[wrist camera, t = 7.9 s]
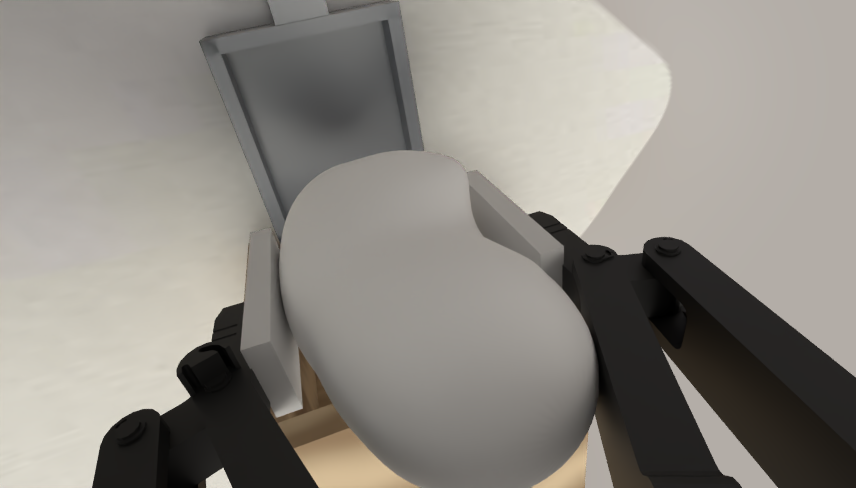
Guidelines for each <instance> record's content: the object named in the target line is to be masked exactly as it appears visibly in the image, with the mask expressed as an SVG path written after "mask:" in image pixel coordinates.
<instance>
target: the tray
mask: <svg viewBox="0 0 856 488" xmlns="http://www.w3.org/2000/svg"><path fill="white" fill-rule="evenodd" d="M267 1H268V4H269V7H270V10H271V13H272V17H273V20H274V23H273V24H268V25H263V26H258V27H253V28H248V29H243V30H238V31H233V32H228V33H223V34H218V35H213V36H208V37H205V38H203V39H202V40H201V41H199V42H200V45H201V47H202V50H203V52H204V55H205V57H206V60H207V62H208V65H209V67H210V70H211V72H212V75H213V77H214V80H215V82H216V85H217V87H218V90H219V92H220V95H221V97H222V100H223V102H224V105H225V107H226V110H227V112H228V115H229V117H230V120H231V122H232V125H233V127H234V129H235V132H236V134H237V137H238V139H239V142H240V144H241V147H242V149H243V152H244V154H245V157H246V159H247V162H248V164H249V167H250V169H251V172H252V174H253V177H254V179H255V182H256V184H257V187H258V189H259V192H260V194H261V197H262V199H263V202H264V204H265V207H266V209H267V212H268V214H269V217H270V219H271V222H272V224H273V227H274V229H275V231H276V234H277V236H278V239H279V241H280V244H281V238H282V233H283V228H284V224H285V221H286V218H287V215H288V213H289V211H290V208H291V206H292V204H293V203H294V201H295V199H296V198H297V196H298V195H299V193H300V192H301V191H302V190H303V189H304V187H305V186H306V185H307V184H308V183H309V182H310V181H312V180H313V179H314V178H315V177H316V176H318V175H319V174H321V173H322V172H324V171H326V170H328V169H330V168H332V167H334V166H337V165H340V164H343V163H346V162H350V161H354V160H357V159H360V158H364V157H367V156H370V155H375V154H378V153H383V152H390V151H398V150H413V151H424V147H423V142H422V136H421V130H420V124H419V118H418V112H417V106H416V100H415V94H414V88H413V83H412V77H411V71H410V65H409V59H408V53H407V47H406V41H405V35H404V29H403V23H402V18H401V12H400V6H399V1H390V0H388V1H383V2H378V3H373V4H368V5H363V6H358V7H353V8H348V9H343V10H338V11H333V12H328V8H327V4H326V0H267Z"/></svg>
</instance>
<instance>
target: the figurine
mask: <svg viewBox="0 0 856 488" xmlns="http://www.w3.org/2000/svg"><path fill="white" fill-rule="evenodd" d="M279 278H280V289H281V296H282V301H283V306H284V310H285V314H286V318H287V321H288V324H289V326H290V329H291V332H292V334H293V336H294V339H295V341H296V343H297V345H298V347H299V349H300V350H301V352H302V354H303V355H304V357H305V358H306V360H307V361H308V363H309V364H310V366H311V367H312V369H313V370H314V371H315V373H316V374H317V376H318V378H319V380H320V382H321V384H322V386H323V387H324V389H325V391H326V393H327V395H328V397H329V399H330V400H331V402H332V404H333V406H334V407H335V409H336V410H337V412H338V413H339V415H340V416H341V417H342V419H343V420H344V421H345V423H346V424H347V425H348V427H349V428H350V429H351V430H352V431H353V432H354V434H355V435H356V436H357V437H358V438H359V439H360V440H361V441H362V442H363V444H364V445H365V446H366V447H367V448H368V449H369V450H370V451H371V452H372V453H373V454H374V455H375V456H376V457H377V458H378V459H379V460H380V461H381V462H382V463H383V464H384V465H385V466H386V467H388V468H389V469H390V470H391V471H393V472H394V473H395V474H397V475H398V476H400V477H401V478H403V479H405V480H406V481H408V482H410V483H412V484H414V485H416V486H418V487H421V488H531V487H533V486H534V485H536V484H538V483H540V482H542V481H543V480H545V479H546V478H548V477H549V476H550V475H552V474H553V473H555V472H556V471H557V470H558V469H559V468H561V467H562V466H563V465H564V464H565V463H566V462H567V461H568V460H569V459H570V457H571V456H572V455H573V454H574V452H575V451H576V450H577V449H578V448H579V446H580V444H581V443H582V441H583V440H584V438H585V436H586V434H587V432H588V430H589V427H590V425H591V423H592V420H593V417H594V414H595V411H596V407H597V402H598V395H599V364H598V358H597V353H596V349H595V345H594V342H593V339H592V336H591V333H590V331H589V328H588V326H587V324H586V322H585V321H584V319H583V317H582V315H581V313H580V312H579V310H578V309H577V307H576V306H575V304H574V303H573V302H572V300H571V299H570V298H569V296H568V295H567V294H566V293H565V292H564V290H563V289H562V288H561V287H560V286H559V285H558V284H557V283H556V282H555V281H554V280H553V279H552V278H551V277H549V276H548V275H547V274H546V273H545V272H544V271H543V270H542V269H541V268H540V267H539V266H538V265H537V264H536V263H534V262H533V261H532V260H530V259H528V258H527V257H525V256H523V255H521V254H519V253H517V252H515V251H513V250H510V249H508V248H506V247H504V246H502V245H500V244H498V243H496V242H493V241H491V240H489V239H487V238H485V237H483V235H482V234H481V232H480V231H479V229H478V227H477V225H476V223H475V220H474V217H473V214H472V209H471V202H470V192H469V180H468V176H467V172H466V170H465V169H464V167H463V165H462V164H461V163H460V162H458V161H457V160H455V159H454V158H451V157H448V156H445V155H442V154H438V153H432V152H426V151H413V150H398V151H390V152H383V153H378V154H375V155H370V156H367V157H364V158H360V159H357V160H354V161H350V162H346V163H343V164H340V165H337V166H334V167H332V168H330V169H328V170H326V171H324V172H322V173H321V174H319V175H318V176H316V177H315V178H314V179H313V180H312V181H310V182H309V183H308V184H307V185H306V186H305V187H304V189H303V190H302V191H301V192H300V193H299V195H298V196H297V198H296V199H295V201H294V203H293V204H292V206H291V208H290V211H289V213H288V215H287V218H286V221H285V224H284V228H283V233H282V238H281V245H280V257H279Z"/></svg>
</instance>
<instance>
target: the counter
mask: <svg viewBox="0 0 856 488" xmlns="http://www.w3.org/2000/svg"><path fill="white" fill-rule="evenodd" d="M248 254H249V246H248ZM247 266H248V258H247ZM246 278H247V270H246ZM245 289H246V282H245ZM244 301H245V295H244ZM298 350H299V364H300V377H301V390H302V403H303V409H300V410H297V411H294V412H291V413H289V414H286V415H283V416H280V417H276V416H275V414H274V412H273V410H272V408H271V406H270V413H271V414H272V416H273V417H274V419H275V420H276V422H277V423H278V425H279V426H280V428H281V430H282V431H283V433H284V434H285V436H286V437H287V439H288V440H289V442H290V444H291V445H292V447H293V448H294V450H295V451H296V453H297V454H298V456H299V458H300V459H301V461H302V462H303V464H304V465H305V467H306V468H307V470H308V471H309V473H310V475H311V476H312V478H313V479H314V481H315V482H316V484H317V485H318V487H319V488H421V487H418V486H416V485H414V484H412V483H410V482H408V481H406V480H405V479H403V478H401V477H400V476H398V475H397V474H395V473H394V472H393V471H391V470H390V469H389V468H388V467H386V466H385V465H384V464H383V463H382V462H381V461H380V460H379V459H378V458H377V457H376V456H375V455H374V454H373V453H372V452H371V451H370V450H369V449H368V448H367V447H366V446H365V445H364V444H363V442H362V441H361V440H360V439H359V438H358V437H357V436H356V435H355V434H354V432H353V431H352V430H351V429H350V428H349V427H348V425H347V424H346V423H345V421H344V420H343V419H342V417H341V416H340V415H339V413H338V412H337V410H336V409H335V407H334V406H333V404H332V402H331V400H330V399H329V397H328V395H327V393H326V391H325V389H324V387H323V386H322V384H321V382H320V380H319V378H318V376H317V374H316V373H315V371H314V370H313V369H312V367H311V366H310V364H309V363H308V361H307V360H306V358H305V357H304V355H303V354H302V352H301V350H300V349H299V347H298ZM587 442H588V432H587V434H586V436H585V438H584V440H583V441H582V443H581V444H580V446H579V448H578V449H577V450H576V451H575V452H574V454H573V455H572V456H571V457H570V459H569V460H568V461H567V462H566V463H565V464H564V465H563V466H562V467H561V468H559V469H558V470H557V471H556V472H555V473H553V474H552V475H550V476H549V477H548V478H546V479H545V480H543V481H542V482H540V483H538V484H536V485H534V486H533V487H531V488H585V472H586V458H587Z"/></svg>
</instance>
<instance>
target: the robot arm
mask: <svg viewBox="0 0 856 488" xmlns="http://www.w3.org/2000/svg"><path fill="white" fill-rule="evenodd" d="M467 176H468V180H469V192H470V202H471V209H472V214H473V217H474V220H475V223H476V225H477V227H478V229H479V231H480V232H481V234H482V235H483V237H485V238H487V239H489V240H491V241H493V242H496V243H498V244H500V245H502V246H504V247H506V248H508V249H510V250H513V251H515V252H517V253H519V254H521V255H523V256H525V257H527V258H528V259H530V260H532V261H533V262H534V263H536V264H537V265H538V266H539V267H540V268H541V269H542V270H543V271H544V272H545V273H546V274H547V275H548V276H549V277H551V278H552V279H553V280H554V281H555V282H556V283H557V284H558V285H559V286H560V287H561V288H562V289H563V290H564V292H565V293H566V294H567V295H568V296H569V298H570V299H571V300H572V302H573V303H574V304H575V306H576V307H577V309H578V310H579V312H580V313H581V315H582V317H583V319H584V321H585V322H586V324H587V326H588V328H589V331H590V333H591V336H592V339H593V342H594V345H595V349H596V353H597V358H598V364H599V395H598V402H597V407H596V411H595V416H596V420H597V424H598V428H599V432H600V436H601V440H602V444H603V448H604V451H605V455H606V459H607V463H608V467H609V471H610V475H611V479H612V482H613V486H614V488H742V487H741V486H740V484H739V483H738V482H737V481H736V480H735V479H734V478H733V477H729V476H725V475H723V474H722V473H721V472H720V471H719V469H718V467H717V465H716V464H715V462H714V459H713V457H712V455H711V453H710V451H709V449H708V446H707V444H706V442H705V440H704V438H703V436H702V434H701V432H700V429H699V427H698V425H697V423H696V421H695V419H694V417H693V414H692V412H691V410H690V408H689V406H688V404H687V402H686V400H685V397H684V395H683V393H682V391H681V389H680V387H679V385H678V383H677V380H676V378H675V376H674V374H673V372H672V370H671V368H670V365H669V363H668V361H667V359H666V357H665V355H664V353H663V351H662V349H663V350H664V351H665V352H666V353H667V355H668V356H669V357H670V358H671V360H672V361H673V362H674V363H675V364H676V365H677V367H678V368H679V369H680V370H681V372H682V373H683V374H684V375H685V376H686V378H687V379H688V380H689V381H690V382H691V384H692V385H693V386H694V387H695V388H696V390H697V391H698V392H699V393H700V394H701V396H702V397H703V398H704V399H705V400H706V402H707V403H708V404H709V405H710V406H711V408H712V409H713V410H714V411H715V412H716V414H717V415H718V416H719V417H720V418H721V420H722V421H723V422H724V423H725V424H726V426H727V427H728V428H729V429H730V430H731V432H733V434H734V435H735V436H736V438H737V439H738V440H739V441H740V442H741V444H742V445H743V446H744V447H745V449H746V450H747V451H748V452H749V453H750V455H751V456H752V457H753V458H754V459H755V461H756V462H757V463H758V464H759V465H760V467H761V468H762V469H763V470H764V471H765V472H766V474H767V475H768V476H769V477H770V479H771V480H772V481H773V482H774V483H775V485H776V486H777V487H778V488H856V377H854V376H853V375H852V374H850V373H849V372H848V371H847V370H846V369H844V368H843V367H842V366H840V365H839V364H838V363H837V362H835V361H834V360H833V359H832V358H831V357H829V356H828V355H827V354H826V353H824V352H823V351H822V350H820V349H819V348H818V347H817V346H815V345H814V344H813V343H812V342H810V341H809V340H808V339H807V338H805V337H804V336H803V335H802V334H800V333H799V332H798V331H797V330H795V329H794V328H793V327H792V326H790V325H789V324H788V323H787V322H785V321H784V320H783V319H782V318H780V317H779V316H778V315H777V314H775V313H774V312H773V311H772V310H770V309H769V308H768V307H767V306H765V305H764V304H763V303H762V302H760V301H759V300H758V299H757V298H755V297H754V296H753V295H751V294H750V293H749V292H748V291H746V290H745V289H744V288H743V287H742V286H740V285H739V284H738V283H736V282H735V281H734V280H733V279H731V278H730V277H729V276H728V275H726V274H725V273H724V272H723V271H721V270H720V269H719V268H718V267H716V266H715V265H714V264H713V263H711V262H710V261H709V260H708V259H706V258H705V257H704V256H703V255H701V254H700V253H699V252H698V251H696V250H695V249H694V248H693V247H691V246H690V245H689V244H687V243H685V242H683V241H682V240H679V239H675V238H670V237H659V238H653V239H651V240H648V241H647V242H646V243H645V244H644V249H643V253H640V254H629V255H617V254H616V252H615V251H614V250H612V249H610V248H608V247H605V246H601V245H588V244H587V243H586V242H584V241H583V240H582V239H581V238H579V237H578V236H577V235H576V234H574V233H573V232H572V231H571V230H569V229H567V227H566V226H564V225H563V224H561V223H560V222H559V221H558V220H557V219H556V218H554V217H553V216H552V215H549V214H546V213H543V212H540V211H539V212H535V213H532V214H529V215H528V214H526V213H525V212H524V211H523V210H522V209H521V208H520V207H518V206H517V205H516V204H515V203H514V202H513V201H511V200H510V199H509V198H508V197H507V196H506V195H505V194H503V193H502V192H501V191H500V190H499V189H498V188H497V187H495V186H494V185H493V184H492V183H491V182H490V181H489V180H487V179H486V178H485V177H484V176H483V175H482V174H481V173H479V172H478V171H477V170H474V171H471V172H467ZM279 257H280V249H279V247H278V244H277V242H276V239H275V237H274V235H273V232H272V230H271V227H270V228H266V229H263V230H259V231H255V232H252V233H250V243H249V254H248V266H247V278H246V289H245V301H244V302H243V303H239V304H236V305H233V306H229V307H226V308H223V309H222V311H221V312H220V314H219V315H218V317H217V318H216V320H215V323H214V329H213V335H212V342H209V343H206V344H203V345H201V346H199V347H197V348H195V349H194V350H192V351H191V352H189V353H188V354H187V355H186V356H185V357H184V358H183V359H182V360H181V361H180V363H179V365H178V367H177V377H178V378H179V380H180V381H181V383H182V384H183V385H184V387H185V388H186V390H187V391H188V393H189V394H190V396H191V397H190V398H189V399H188V400H186V401H185V402H183V403H182V404H180V405H179V406H177V407H175V408H173V409H172V410H170V411H168V412H166V413H165V414H163V415H161V416H160V414H159V413H158V412H156V411H155V410H153V409H142V410H139V411H136V412H133V413H131V414H129V415H127V416H126V417H124V418H122V419H121V420H120V421H118V422H117V423H116V424H115V425H114V426H112V427H111V429H110V430H109V431H108V432H107V434H106V435H105V436H104V438H103V441H102V443H101V445H100V450H99V455H98V460H97V466H96V471H95V476H94V481H93V486H92V488H206V478H208V477H209V476H211V475H212V474H214V473H215V472H217V471H218V470H220V469H221V468H224V470H225V472H226V474H227V477H228V479H229V481H230V483H231V485H232V488H319V487H318V485H317V484H316V482H315V481H314V479H313V478H312V476H311V475H310V473H309V471H308V470H307V468H306V467H305V465H304V464H303V462H302V461H301V459H300V458H299V456H298V454H297V453H296V451H295V450H294V448H293V447H292V445H291V444H290V442H289V440H288V439H287V437H286V436H285V434H284V433H283V431H282V430H281V428H280V426H279V425H278V423H277V422H276V420H275V419H274V417H273V416H272V414H271V413H270V406H271V408H272V410H273V412H274V414H275V416H276V417H280V416H283V415H286V414H289V413H291V412H294V411H297V410H300V409H303V403H302V390H301V377H300V364H299V350H298V345H297V343H296V341H295V339H294V336H293V334H292V332H291V329H290V326H289V324H288V321H287V318H286V314H285V310H284V306H283V301H282V296H281V289H280V278H279Z"/></svg>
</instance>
